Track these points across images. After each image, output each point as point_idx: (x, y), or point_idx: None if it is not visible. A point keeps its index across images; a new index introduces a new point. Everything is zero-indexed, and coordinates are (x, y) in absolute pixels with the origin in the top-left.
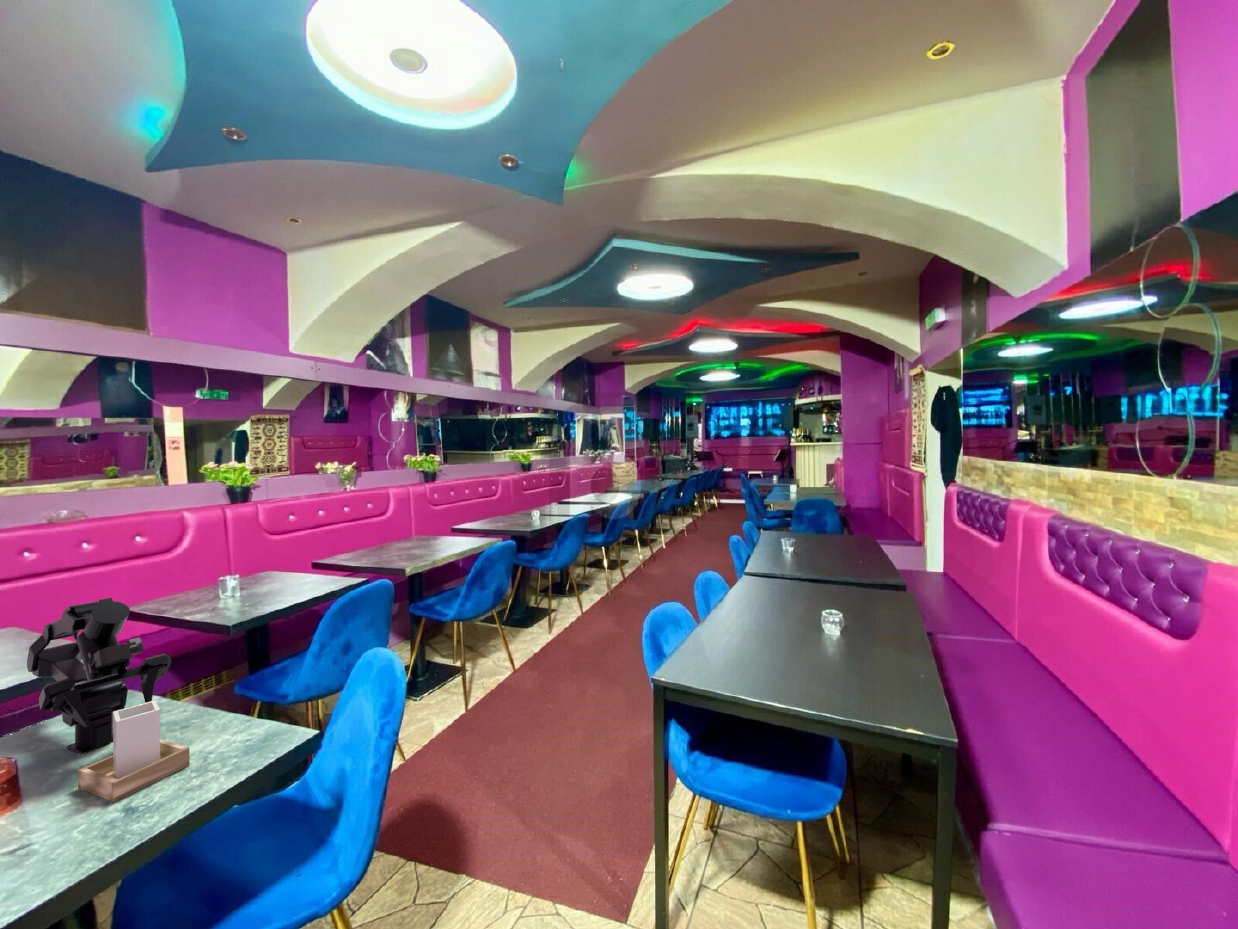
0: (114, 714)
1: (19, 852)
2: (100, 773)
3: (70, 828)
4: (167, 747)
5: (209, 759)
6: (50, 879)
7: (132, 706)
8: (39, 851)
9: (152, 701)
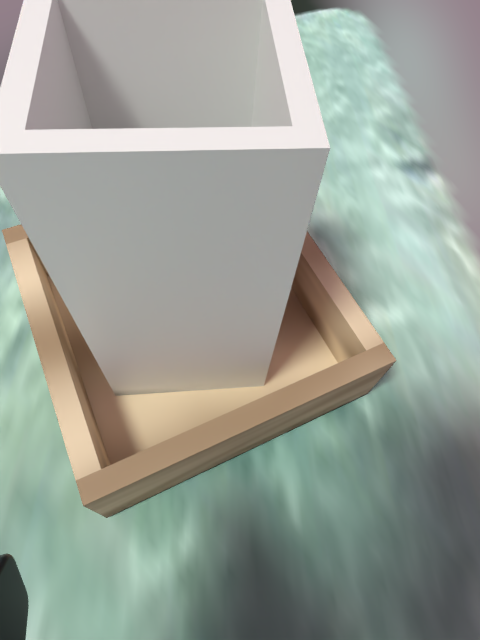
0: (310, 86)
1: (415, 152)
2: (304, 253)
3: (334, 171)
4: (61, 339)
5: None
6: (330, 43)
7: (180, 148)
8: (375, 129)
9: (12, 138)
